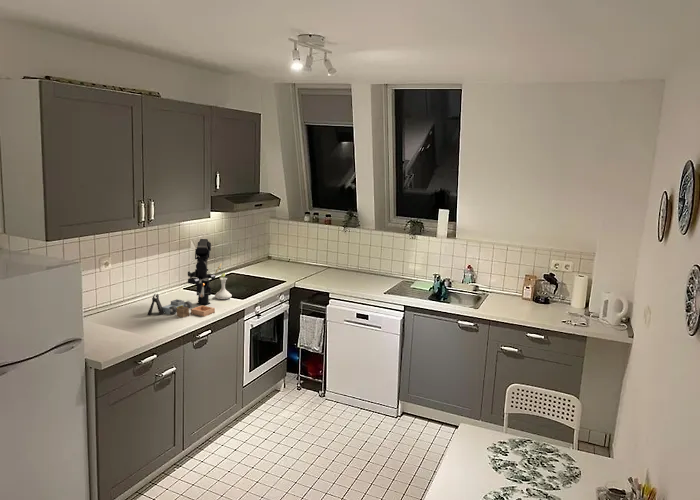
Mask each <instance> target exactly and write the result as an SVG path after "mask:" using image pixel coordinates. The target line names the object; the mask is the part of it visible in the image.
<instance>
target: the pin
mask: <svg viewBox="0 0 700 500" xmlns="http://www.w3.org/2000/svg"><path fill="white" fill-rule="evenodd" d="M204 286H205V283H203V286H202V291H201V293H199V297H204Z"/></svg>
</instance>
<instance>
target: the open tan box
mask: <svg viewBox="0 0 700 500" xmlns="http://www.w3.org/2000/svg"><path fill="white" fill-rule="evenodd" d="M215 311H216V310H215V307H211V306H207V305H199V306H196V307H193V308H190V314H191V315H195V316H199V317H203V318H204V317H207V316H210V315H212V313H213V314H215Z"/></svg>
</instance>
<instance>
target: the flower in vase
mask: <svg viewBox="0 0 700 500" xmlns="http://www.w3.org/2000/svg"><path fill="white" fill-rule="evenodd" d="M222 265H223V264H222V262H220V264H219V265H218V267H217V268H216V270H215V271H214V273H215V274H217V273H218V271H219V270H220V271H221V275H220V276H219V280H220V282H221V288H220V290H219V291H217V292H216V293H215V294H214V298H215V299H219V300H228V299H229V300H230V299H231V298H232V294H231V293H230V291H228V290H227V289H226V281H227V280H228V277H226V274H225V272H222V269H221V267H222Z"/></svg>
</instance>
